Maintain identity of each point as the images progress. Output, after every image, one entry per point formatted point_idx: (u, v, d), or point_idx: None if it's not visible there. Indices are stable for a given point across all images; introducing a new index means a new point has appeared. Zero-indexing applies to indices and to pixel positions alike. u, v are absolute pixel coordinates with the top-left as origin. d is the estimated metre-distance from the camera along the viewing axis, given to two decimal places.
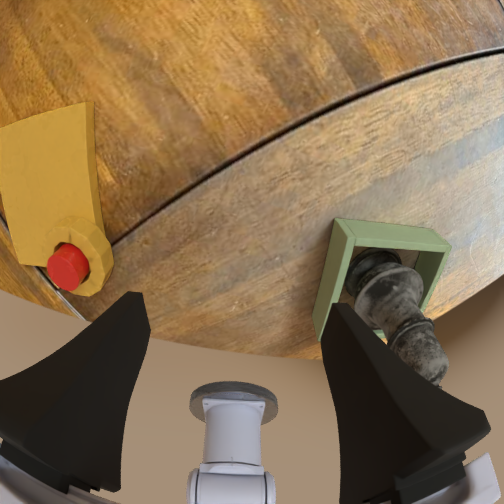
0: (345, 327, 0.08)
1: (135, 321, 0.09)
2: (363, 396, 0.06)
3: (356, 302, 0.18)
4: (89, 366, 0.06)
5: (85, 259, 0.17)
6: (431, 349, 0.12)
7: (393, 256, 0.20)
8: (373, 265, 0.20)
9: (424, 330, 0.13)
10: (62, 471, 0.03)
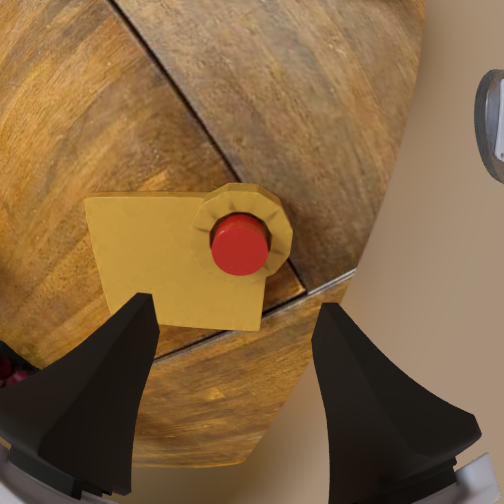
0: (334, 328, 0.08)
1: (145, 322, 0.09)
2: (351, 398, 0.06)
3: None
4: (102, 369, 0.06)
5: (234, 216, 0.15)
6: None
7: None
8: None
9: None
10: (76, 477, 0.03)
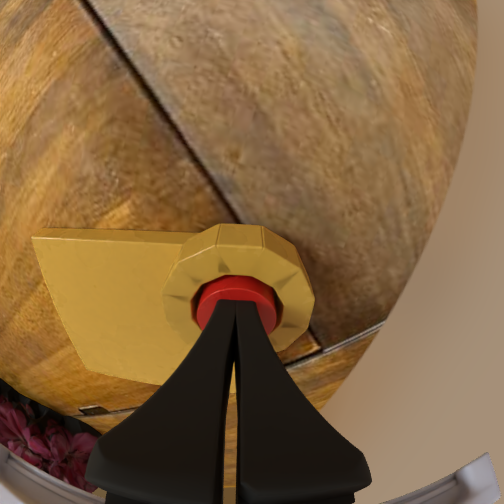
0: (236, 326, 0.08)
1: None
2: (238, 402, 0.06)
3: None
4: (223, 387, 0.06)
5: None
6: None
7: None
8: None
9: None
10: None
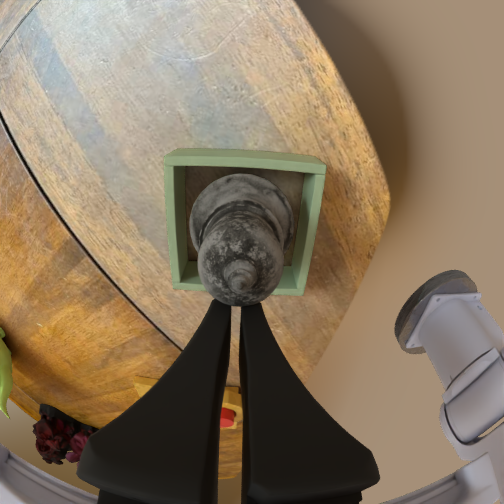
0: (242, 326, 0.08)
1: (229, 330, 0.09)
2: (245, 402, 0.06)
3: None
4: (215, 386, 0.06)
5: None
6: None
7: None
8: None
9: None
10: None
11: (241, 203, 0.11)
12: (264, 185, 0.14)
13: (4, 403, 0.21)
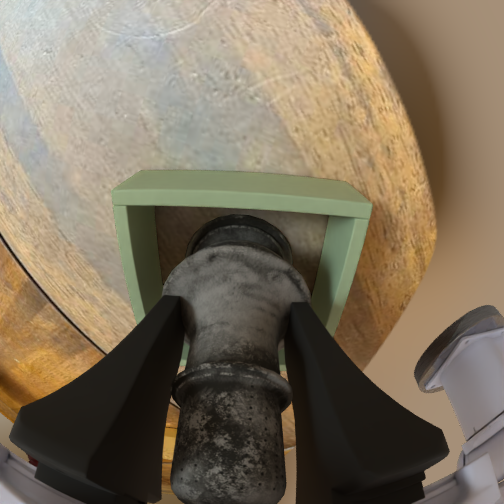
0: (300, 328, 0.08)
1: (175, 326, 0.09)
2: (312, 401, 0.06)
3: None
4: (139, 377, 0.06)
5: None
6: None
7: (196, 247, 0.13)
8: None
9: None
10: (119, 493, 0.03)
11: (228, 370, 0.06)
12: (270, 265, 0.09)
13: None
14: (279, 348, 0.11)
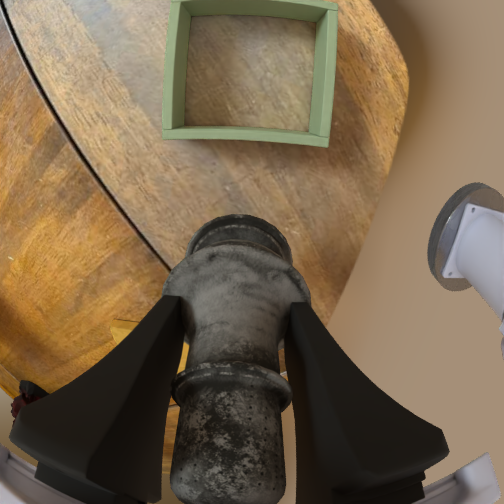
0: (299, 328, 0.08)
1: (175, 326, 0.09)
2: (312, 401, 0.06)
3: None
4: (139, 377, 0.06)
5: None
6: None
7: (196, 246, 0.12)
8: None
9: None
10: (119, 493, 0.03)
11: (227, 369, 0.06)
12: (269, 264, 0.09)
13: None
14: (279, 348, 0.11)
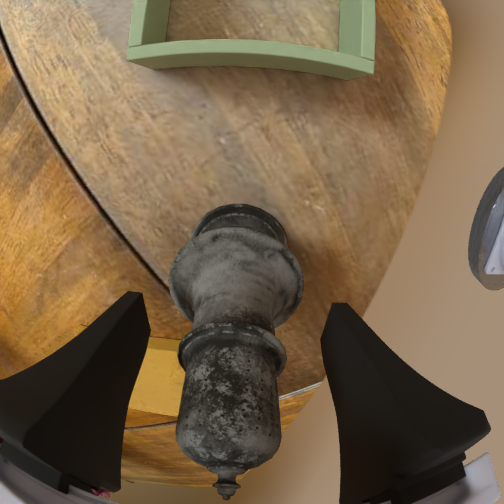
0: (345, 327, 0.08)
1: (135, 321, 0.09)
2: (363, 396, 0.06)
3: None
4: (89, 366, 0.06)
5: None
6: None
7: (199, 233, 0.14)
8: None
9: None
10: (62, 471, 0.03)
11: (229, 328, 0.07)
12: (266, 245, 0.10)
13: None
14: (275, 325, 0.13)
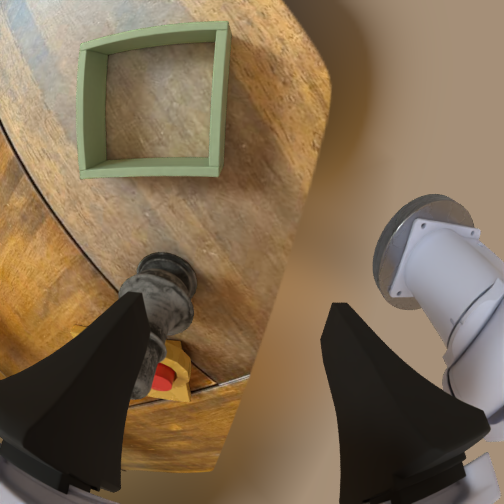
0: (345, 327, 0.08)
1: (135, 321, 0.09)
2: (363, 396, 0.06)
3: None
4: (89, 366, 0.06)
5: None
6: None
7: (141, 269, 0.21)
8: None
9: None
10: (62, 471, 0.03)
11: None
12: (164, 284, 0.17)
13: None
14: (182, 329, 0.20)
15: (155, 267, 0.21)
